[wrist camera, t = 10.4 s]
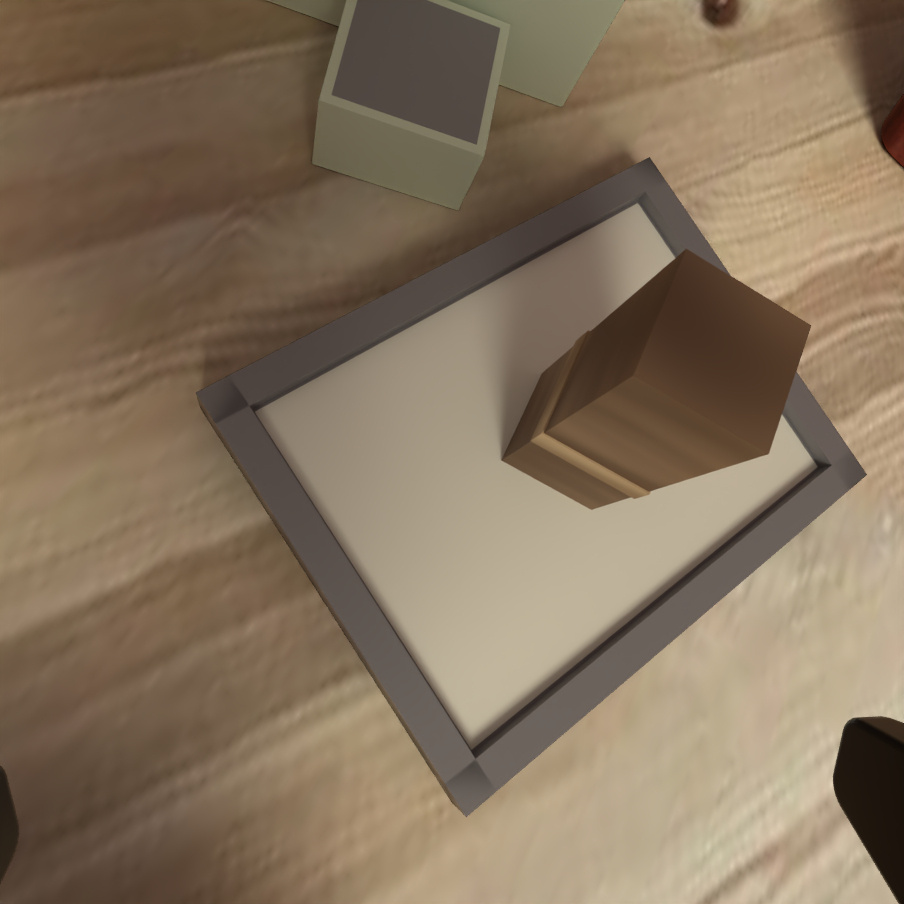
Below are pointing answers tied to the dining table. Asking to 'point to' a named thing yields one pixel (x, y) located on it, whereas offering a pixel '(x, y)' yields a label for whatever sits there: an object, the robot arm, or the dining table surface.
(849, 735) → the robot arm
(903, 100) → the plant pot
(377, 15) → the tool chest
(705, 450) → the wooden block
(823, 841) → the dining table surface
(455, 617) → the felt tray
